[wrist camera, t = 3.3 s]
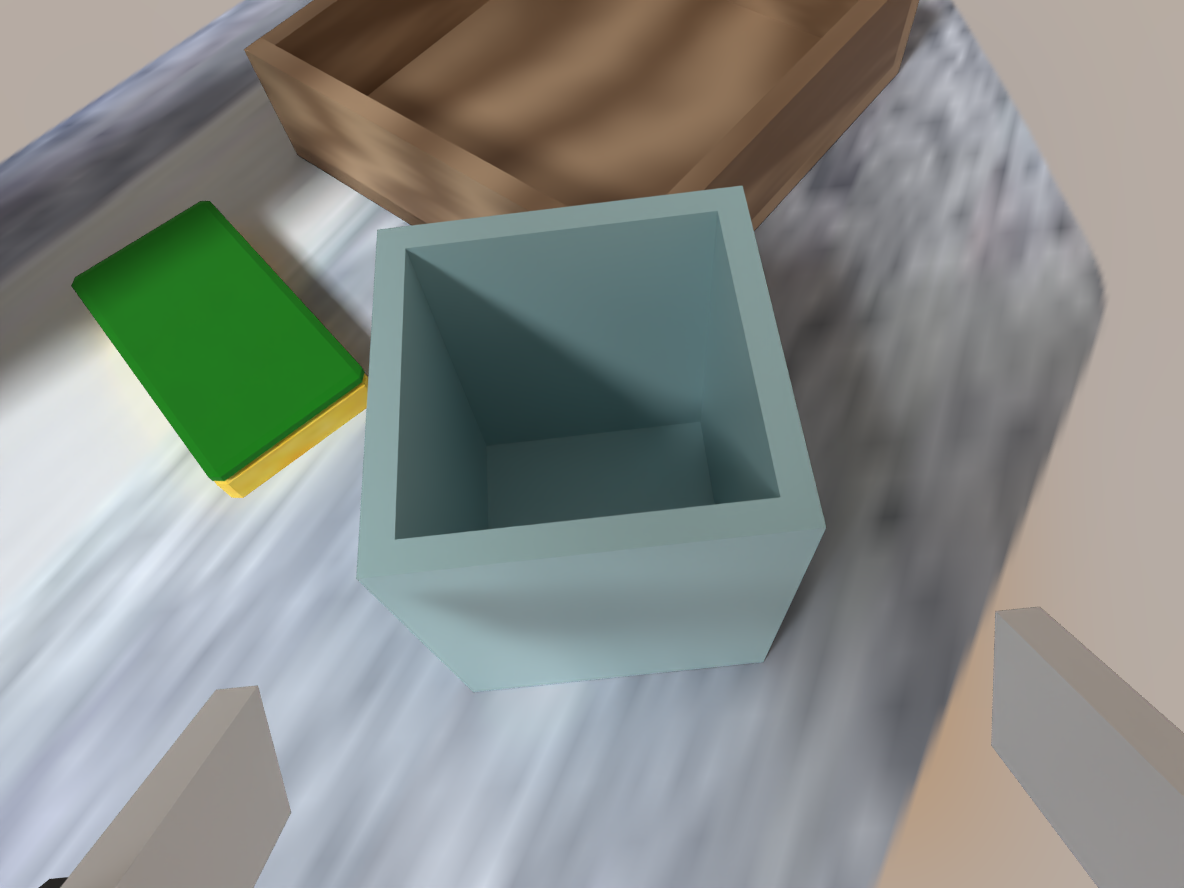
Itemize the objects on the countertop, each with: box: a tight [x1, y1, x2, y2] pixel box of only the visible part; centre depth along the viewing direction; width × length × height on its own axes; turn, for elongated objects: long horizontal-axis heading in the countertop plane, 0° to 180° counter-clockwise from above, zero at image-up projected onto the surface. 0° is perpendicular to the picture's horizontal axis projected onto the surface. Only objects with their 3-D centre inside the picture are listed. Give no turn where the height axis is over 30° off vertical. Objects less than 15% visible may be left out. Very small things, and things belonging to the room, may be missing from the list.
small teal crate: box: [356, 186, 826, 692], centre depth 25 cm, size 10×10×12 cm
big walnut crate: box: [244, 0, 919, 231], centre depth 38 cm, size 22×22×6 cm
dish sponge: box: [71, 201, 368, 498], centre depth 35 cm, size 7×14×2 cm, turn 41°
